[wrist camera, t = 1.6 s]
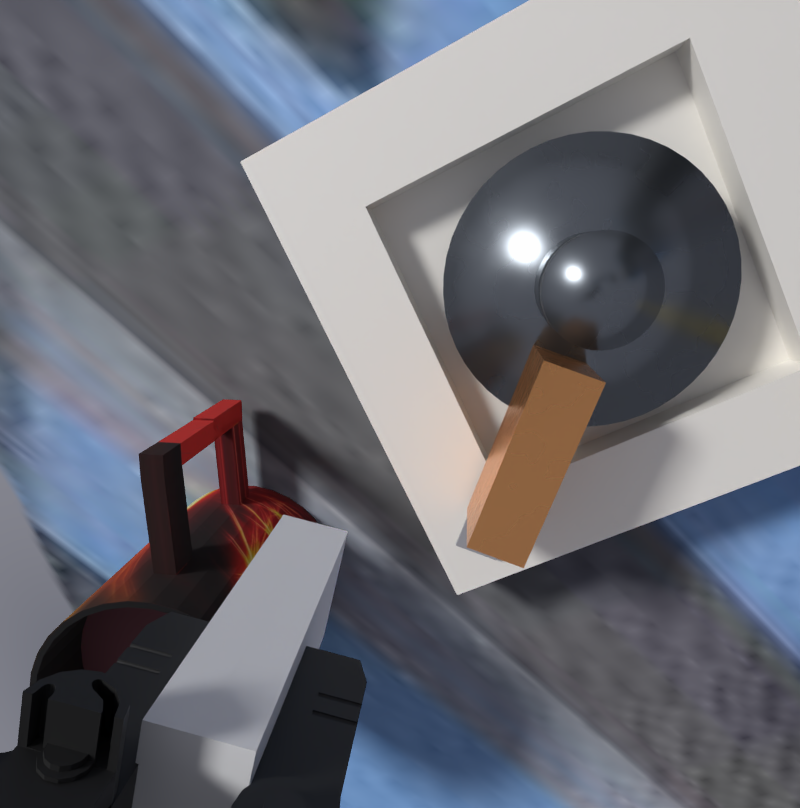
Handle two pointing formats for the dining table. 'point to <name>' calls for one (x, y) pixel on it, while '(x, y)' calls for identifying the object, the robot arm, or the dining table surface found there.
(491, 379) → the dial
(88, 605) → the mug
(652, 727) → the dining table surface
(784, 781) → the dining table surface
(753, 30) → the housing
